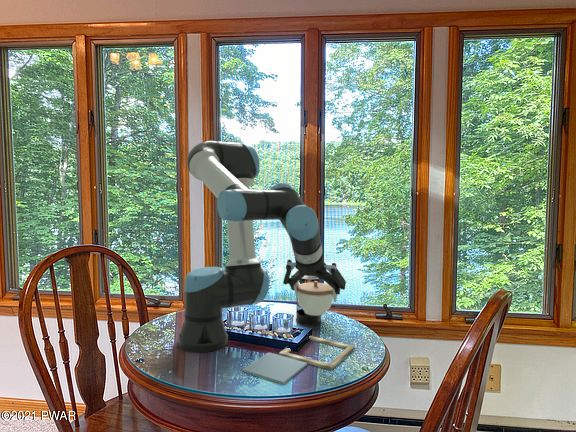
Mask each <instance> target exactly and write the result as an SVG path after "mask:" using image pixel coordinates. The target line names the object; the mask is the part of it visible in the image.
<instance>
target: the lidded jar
mask: <svg viewBox="0 0 576 432" xmlns="http://www.w3.org/2000/svg"><path fill="white" fill-rule="evenodd" d="M297 289H298V302H299V305H300V307H301V308H300V307H299V308H300V309H303V310H304V312H305V313H306V314H308V315H313V316H319V315H321V316H324V315H326V312H328V310H329V309H330V308H331V306H332V303H333V301H334V299H333V292H332V289H333V288H332V287H331V286H330V285H329V284H327V283H323V282H321V283H318V281H314V282H313V281H311V282H310V283H309V282H304V283H303V282H302V283H299V285H298V287H297Z"/></svg>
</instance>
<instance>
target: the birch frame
mask: <svg viewBox="0 0 576 432" xmlns="http://www.w3.org/2000/svg"><path fill="white" fill-rule="evenodd" d="M309 339H310V340H309V341H313V342H317V343H321V344H324V345H325V344H326V345H329V346H334V347H337V348H341V349H344V350H343V351H342V352H340V353H339V354H338V355H337V356H336V357H335V358H334V359H333V360H331V361H330V363H327V362H323V361H320V360H316V359H312V358H309V357H305V356H302V355H298V354H294V353H292V351H291V349H290V348H287V347H285V348H284V349H282V350H281V351H280V352H278V355H281V356H284V357H288V358H291V359H295V360H299V361H302V362H306V363H307V365H312V366H316V367H319V368H324V369H326V370H330V371H333V370H334V368H335V367H337V366H338V365H339V363H341V362H342V361H343V360H344V359H345V358H346V357H347V356H348V355H349V354H350V353H351V352H352V351H353V350H354V349H355V345H351V344H346V343H342V342H338V341H334V340H331V339H330V340H329V339H325V338H322V337H317V336H313V335H310V336H309Z"/></svg>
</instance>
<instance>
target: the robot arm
mask: <svg viewBox="0 0 576 432" xmlns="http://www.w3.org/2000/svg"><path fill="white" fill-rule="evenodd" d="M259 155H260V154H259V153H258V151H257V148H256V147H254V145H252V144H248V143H244V142H230V141H229V142H228V141H215V140H206V141H203V142H200V143H198V144H196V145H195V146H193V147H192V148H191V150H190V151H189V152H188V155H187V158H186V167H187V169H188V171H189V173H190V174H191V175H192V177H193V178H195V179H196V180H198V181H201V182H202V183H203V184H204V185H205V187H207V189H208V190H209V191H210V192H211V193H212V194H213V195H214V196H215V198H216V200H217V202H216V207H217V208H216V209H217V212H218V216H219V218H221V220H222V221H226V225H227V227H226V228H227V239H228V241H227V243H228V255H229V256H228V257H229V259H228V261H227V263H226V264H225V270H223V268H222V267H220V266H204V267H200V268H196V269H193V270H191V271H189V272H188V273H187V274H186V275H185V279H184V287H183V291H184V320H183V324H182V326H181V330H180V333H179V336H178V347H179V348H180V349H181V350H183V351H186V352H189V353H197V354H199V353H210V352H215V351H218V350H221V349H223V348H225V347H226V346H227V344H228V342H229V338H228V337H229V335H228V332H227V330H226V326H225V322H224V320H223V310H224V309H229V308H235V307H242V306H252V305H255V304H259V303H262V302H263V301H264V300H265V298H266V297H267V296H268V292H269V288H270V279H269V276H270V275H269V274H268V271H267V269H266V268H264V267H262V263H261V261H260V260H259V259H258V258H257V257H256V244H255V243H256V242H255V231H254V221H265V220H266V221H267V220H269V221H270V220H279V222H280V223H281V224H282V226H283V228H284V229H285V231H286V233H287V235H288V237H289V240H290V243H291V248H292V253H293V256H294V260H295V262H292V259H287V261H286V266H285V270H286V271H285V275H284V278H283V281H282V283H283V285H285V286H286V285H289V286H290V290H291V291H294V293H295V298H296V299H297V298H298V289H297V287H298V285H300V283H299V280H300V279H301V278H303V277H304V276H305V275H306V276H317V277H318V278H319V279H321V280H322V281H323V282H325V284H328V285H330V286H331V287H332V288H333V289H332V292H333V302H334V303H337V301H338V295H340V294H341V291H342V290H343V291H344V290H345V289H346V284H347V283H346V282H347V280H345V278H344V276H343V275H342V274H341V272H340V271H339V269H338V267H337V263H335V262H332V263H331V264H326V263H325V259H324V251H323V246H322V241H321V234H320V227H319V226H320V223H319V219H318V217H317V213H316V212H315V210H314V209H313V208H312V207H309V206H308V205H306V203H304V202H303V199H302V198H301V196H300V194H299V192H298V191H297V190H296V189H295V188H294V187H293V185H292V184H290V183H288V182H279V183H278V184H273V186H272V187H270V189H269V190H268V189H265V190H263V189H262V190H261V189H260V190H259V189H251V186H253V184H254V183H255V178H257V177H258V176H259V175H260V169H261V161H260V156H259ZM294 269H297V271H296V272H295V273H294V274H293V275H291V274H292V272H293V270H294Z"/></svg>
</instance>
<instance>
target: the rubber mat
mask: <svg viewBox="0 0 576 432" xmlns="http://www.w3.org/2000/svg"><path fill="white" fill-rule="evenodd" d="M307 366H308V363H306V362H302V361H299V360H295V359H291V358H288V357H284V356H281V355H279V354H277V353H272V352H270V351H269V352H267V353H265V354H263V355H262V356H260V357H259V358H257V359H256V360H254V361H253V362H251V363H250V364H248V365H247V366H245V367H243V368H242V370H241V371H242V372H244V373H247V374H249V375H253V376H256V377H260V378H262V379H265V380H268V381H272V382H274V383H278V384H280V385H285V384H286V383H288V381H290V380H292V378H294V377H295V376H296V375H297V374H298V373H300V372H301V371H302V370H303V369H305V368H306V367H307Z"/></svg>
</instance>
